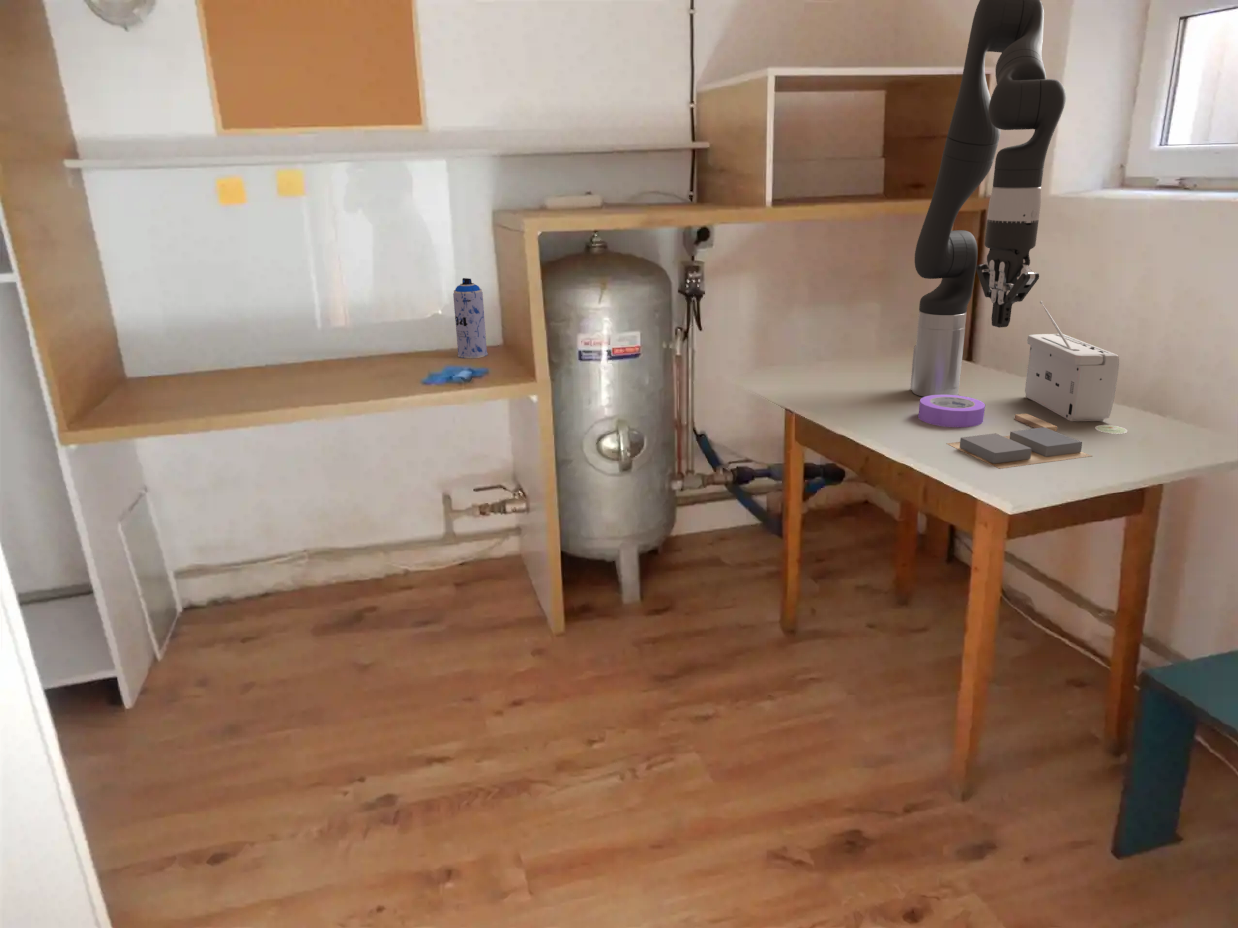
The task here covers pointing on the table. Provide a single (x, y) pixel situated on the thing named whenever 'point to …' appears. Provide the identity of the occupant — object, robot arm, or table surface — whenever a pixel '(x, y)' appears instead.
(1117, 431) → the sign
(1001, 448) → the slate tile near
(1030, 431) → the slate tile far
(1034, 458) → the cork mat
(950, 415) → the masking tape
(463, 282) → the aerosol can
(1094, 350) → the stereo radio cassette player
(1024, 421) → the wooden turner
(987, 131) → the robot arm
